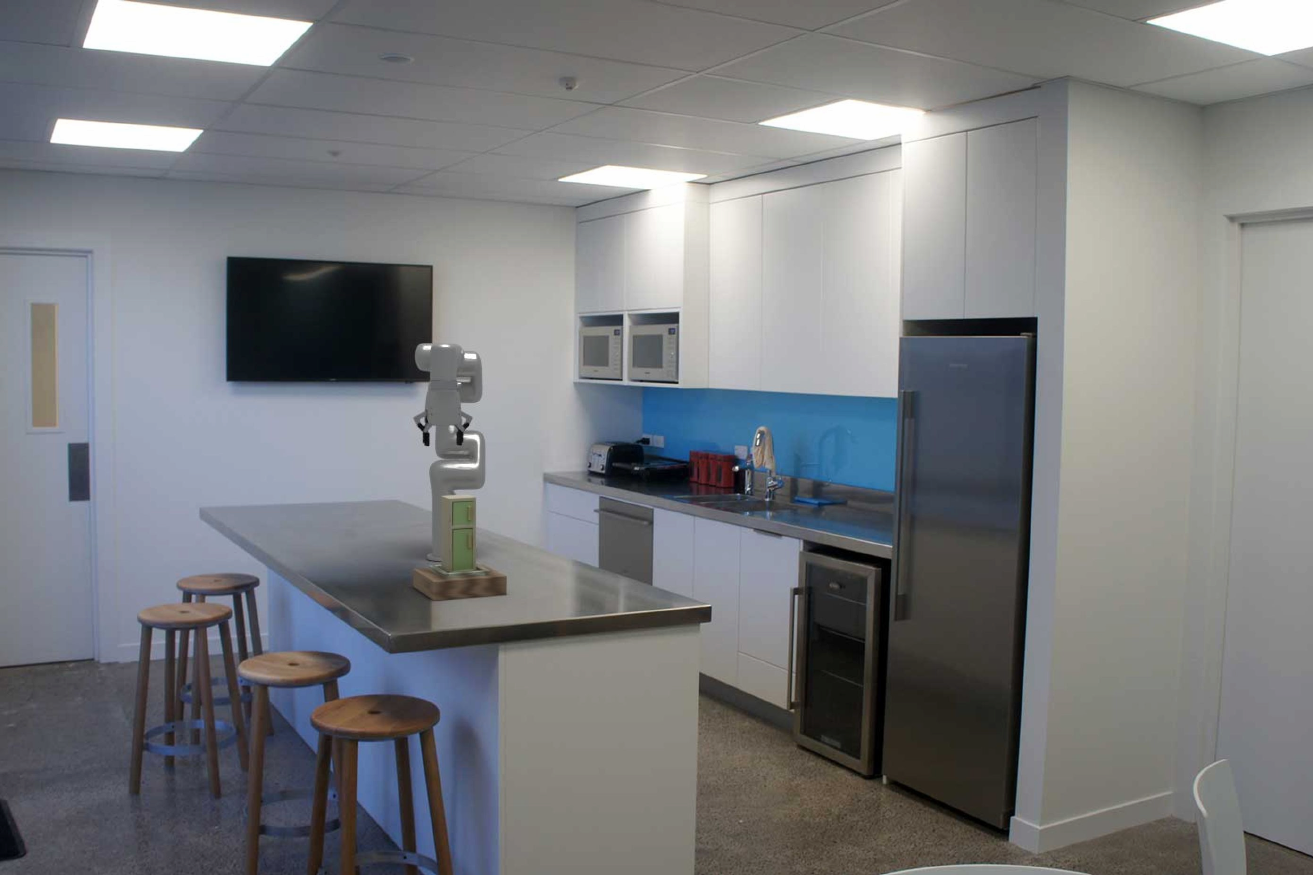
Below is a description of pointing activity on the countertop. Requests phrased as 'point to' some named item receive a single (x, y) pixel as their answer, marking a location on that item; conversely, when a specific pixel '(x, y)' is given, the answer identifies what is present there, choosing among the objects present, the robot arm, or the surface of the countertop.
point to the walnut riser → (459, 583)
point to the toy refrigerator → (458, 533)
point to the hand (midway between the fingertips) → (443, 445)
